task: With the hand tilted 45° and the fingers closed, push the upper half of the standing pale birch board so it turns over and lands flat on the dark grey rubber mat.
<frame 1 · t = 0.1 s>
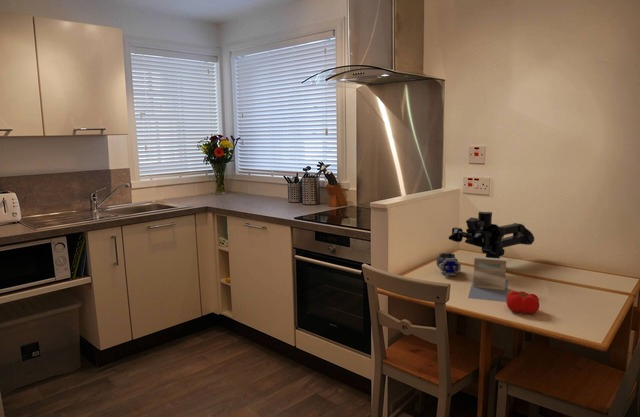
hand: (456, 239, 206), 17 cm above the table, tool horizontal, fingers open, 9 cm apart
toy: (447, 274, 212), on the table
mat: (489, 289, 190), on the table
board: (489, 287, 191), resting on mat
tomato: (522, 311, 167), on the table
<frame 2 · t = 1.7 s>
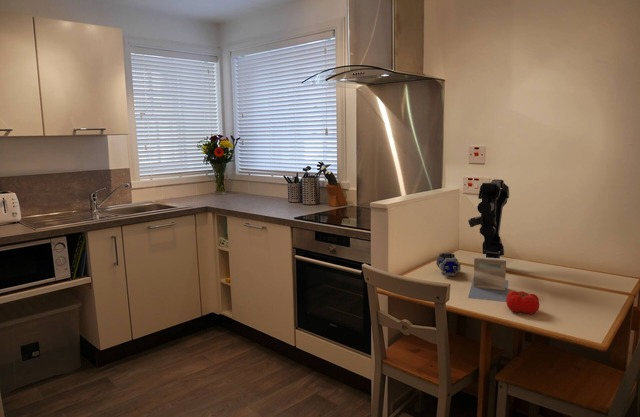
hand: (487, 245, 209), 13 cm above the table, tool pointing down, fingers open, 6 cm apart
nothing on the table moved.
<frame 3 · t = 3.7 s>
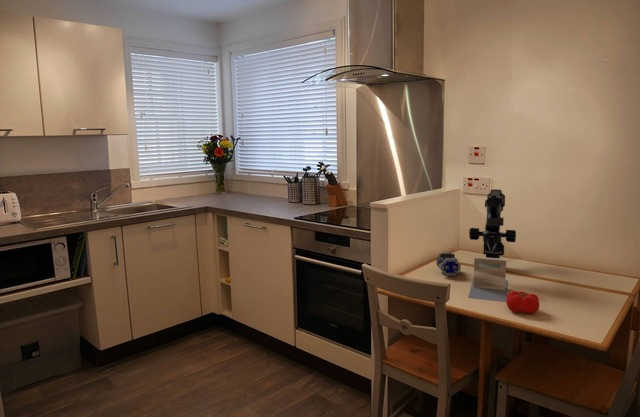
hand: (491, 251, 197), 13 cm above the table, tool tilted 45°, fingers closed
nothing on the table moved.
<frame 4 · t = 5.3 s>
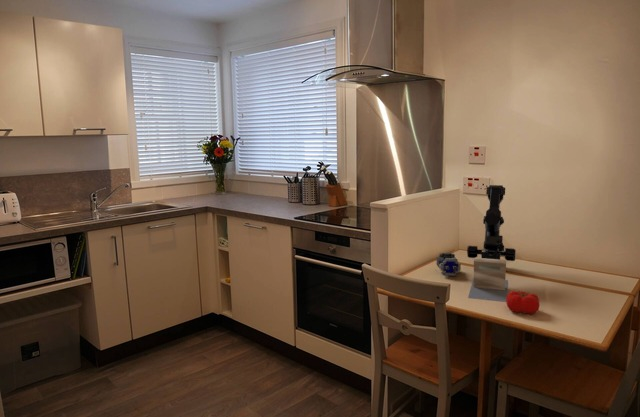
hand: (489, 270, 190), 7 cm above the table, tool tilted 45°, fingers closed
board: (489, 286, 191), point 1 cm above the table, tilted 14°, touching mat
everything else where it was.
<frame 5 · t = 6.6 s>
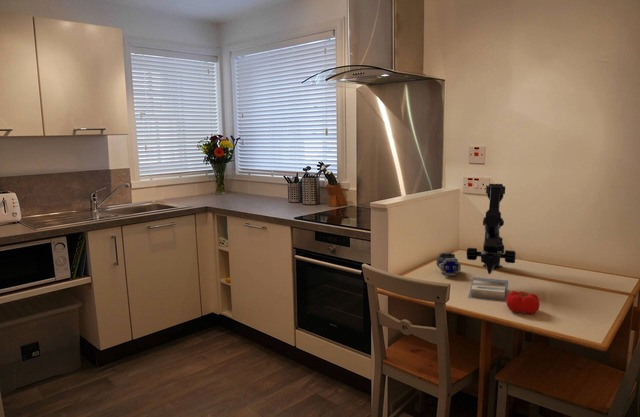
hand: (489, 273, 188), 7 cm above the table, tool tilted 45°, fingers closed
board: (489, 285, 190), point 2 cm above the table, tilted 90°, touching mat
everything else where it was.
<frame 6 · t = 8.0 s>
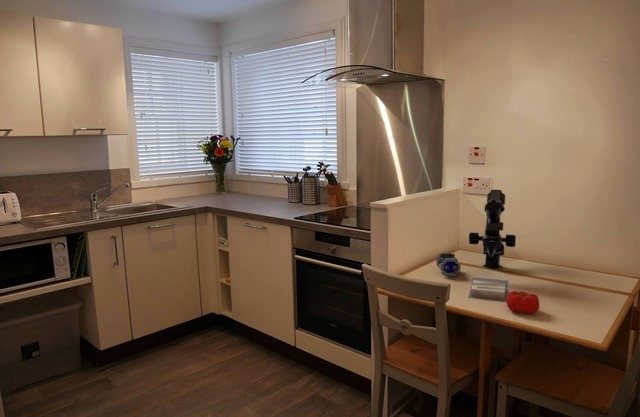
hand: (490, 256, 196), 12 cm above the table, tool tilted 45°, fingers closed
nothing on the table moved.
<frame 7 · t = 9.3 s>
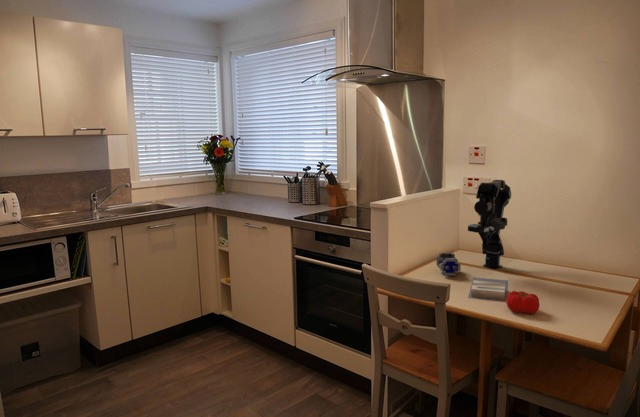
hand: (485, 245, 210), 13 cm above the table, tool pointing down, fingers closed
nothing on the table moved.
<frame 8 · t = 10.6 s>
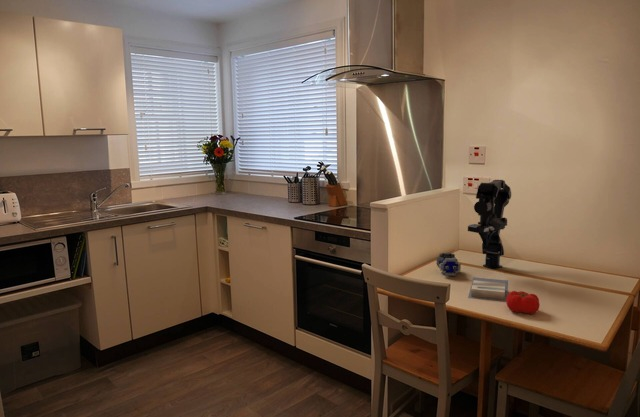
hand: (485, 245, 210), 13 cm above the table, tool pointing down, fingers closed
nothing on the table moved.
at the end: board tilted 90°; board 0.1 cm from the mat (horizontally); board point 1.9 cm above the table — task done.
